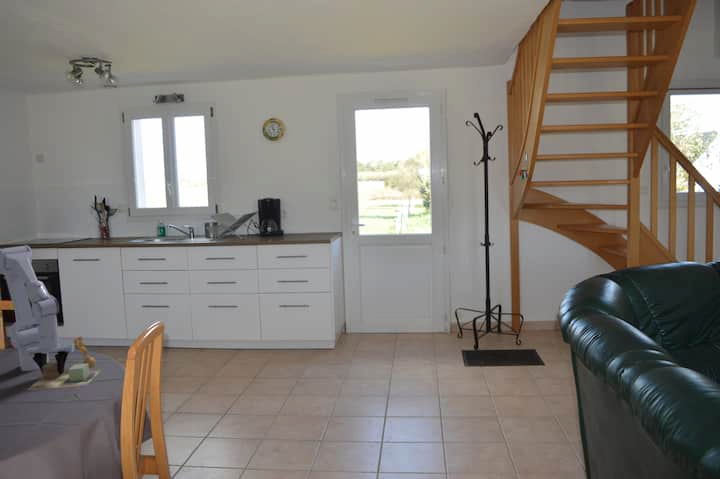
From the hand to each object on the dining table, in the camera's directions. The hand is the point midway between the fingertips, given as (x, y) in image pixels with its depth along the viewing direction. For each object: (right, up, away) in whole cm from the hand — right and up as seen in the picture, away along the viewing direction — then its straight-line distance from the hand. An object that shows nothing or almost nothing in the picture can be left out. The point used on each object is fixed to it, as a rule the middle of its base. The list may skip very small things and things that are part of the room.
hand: (53, 373), depth 180 cm
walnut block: (0, -1, 0) cm, 1 cm away
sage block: (+10, -1, -3) cm, 11 cm away
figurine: (+7, -1, +9) cm, 11 cm away
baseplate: (+6, -2, -3) cm, 7 cm away
